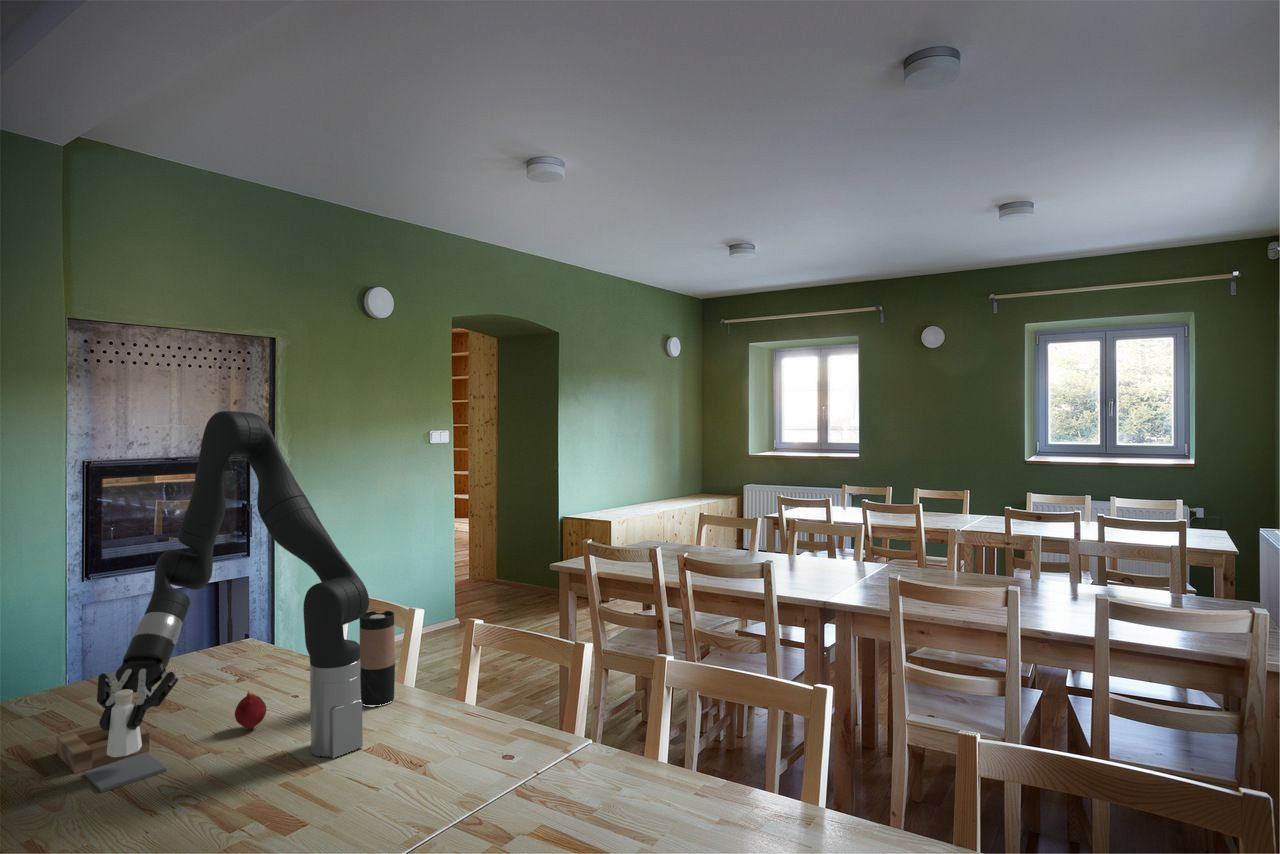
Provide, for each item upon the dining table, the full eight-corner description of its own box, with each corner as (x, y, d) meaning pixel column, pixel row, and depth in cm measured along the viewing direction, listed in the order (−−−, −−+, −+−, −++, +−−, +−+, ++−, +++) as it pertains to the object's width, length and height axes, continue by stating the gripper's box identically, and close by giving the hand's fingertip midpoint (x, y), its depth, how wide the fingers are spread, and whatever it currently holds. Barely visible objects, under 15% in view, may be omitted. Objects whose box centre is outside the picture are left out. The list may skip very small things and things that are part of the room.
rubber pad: (166, 771, 138) (165, 767, 138) (101, 792, 130) (101, 789, 130) (147, 755, 144) (147, 752, 144) (84, 774, 136) (84, 771, 136)
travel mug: (372, 710, 165) (371, 621, 165) (353, 702, 170) (352, 615, 170) (402, 700, 171) (401, 613, 171) (382, 692, 176) (381, 608, 176)
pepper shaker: (144, 751, 137) (143, 692, 137) (108, 760, 133) (107, 699, 133) (139, 741, 141) (139, 683, 141) (104, 750, 137) (103, 690, 137)
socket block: (149, 750, 146) (149, 732, 146) (74, 773, 137) (74, 754, 137) (129, 733, 154) (128, 717, 154) (56, 754, 144) (56, 736, 144)
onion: (272, 723, 159) (271, 686, 158) (255, 735, 153) (255, 696, 153) (246, 722, 159) (245, 685, 159) (228, 734, 153) (228, 695, 153)
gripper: (107, 632, 143) (65, 721, 132) (185, 631, 145) (151, 719, 133) (124, 651, 149) (85, 738, 137) (199, 649, 150) (167, 735, 138)
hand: (118, 728), depth 135 cm, fingers closed on pepper shaker, 4 cm apart
